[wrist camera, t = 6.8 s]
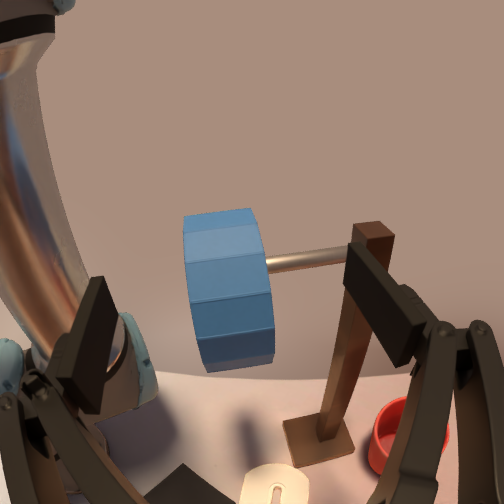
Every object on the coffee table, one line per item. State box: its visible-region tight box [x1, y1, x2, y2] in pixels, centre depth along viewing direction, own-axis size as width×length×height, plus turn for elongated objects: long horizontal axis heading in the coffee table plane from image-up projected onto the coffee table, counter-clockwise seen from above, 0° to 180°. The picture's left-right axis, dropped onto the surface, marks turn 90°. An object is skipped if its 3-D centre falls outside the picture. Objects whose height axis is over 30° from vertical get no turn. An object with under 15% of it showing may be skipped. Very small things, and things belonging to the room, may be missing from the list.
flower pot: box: [368, 396, 449, 475], centre depth 32 cm, size 11×11×10 cm
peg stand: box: [265, 221, 395, 468], centre depth 30 cm, size 17×8×35 cm, turn 100°
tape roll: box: [183, 208, 275, 373], centre depth 22 cm, size 4×11×11 cm, turn 10°
